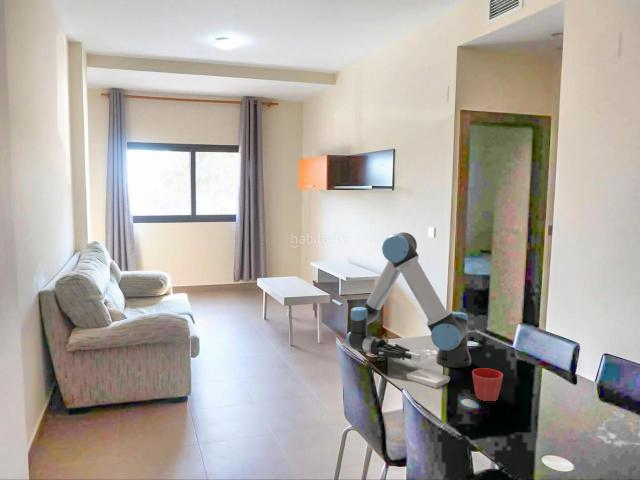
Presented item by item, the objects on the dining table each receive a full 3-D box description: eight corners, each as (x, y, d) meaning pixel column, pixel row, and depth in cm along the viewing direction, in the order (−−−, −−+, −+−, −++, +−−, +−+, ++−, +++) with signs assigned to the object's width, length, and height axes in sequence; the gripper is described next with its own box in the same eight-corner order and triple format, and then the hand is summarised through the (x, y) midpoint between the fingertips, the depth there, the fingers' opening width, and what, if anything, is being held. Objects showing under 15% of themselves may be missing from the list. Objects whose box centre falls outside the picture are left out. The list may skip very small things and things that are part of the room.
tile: (420, 368, 216) (449, 376, 206) (420, 373, 216) (449, 382, 206) (406, 374, 209) (435, 383, 199) (406, 379, 209) (435, 388, 199)
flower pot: (504, 405, 183) (505, 378, 182) (472, 402, 185) (473, 376, 184) (500, 393, 193) (500, 369, 192) (470, 391, 195) (470, 367, 194)
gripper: (384, 351, 232) (428, 363, 215) (365, 357, 223) (409, 370, 206) (384, 335, 231) (428, 346, 214) (365, 340, 222) (409, 352, 205)
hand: (419, 358), depth 210 cm, fingers closed
